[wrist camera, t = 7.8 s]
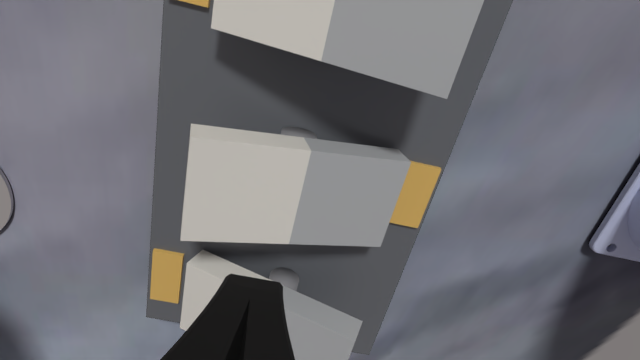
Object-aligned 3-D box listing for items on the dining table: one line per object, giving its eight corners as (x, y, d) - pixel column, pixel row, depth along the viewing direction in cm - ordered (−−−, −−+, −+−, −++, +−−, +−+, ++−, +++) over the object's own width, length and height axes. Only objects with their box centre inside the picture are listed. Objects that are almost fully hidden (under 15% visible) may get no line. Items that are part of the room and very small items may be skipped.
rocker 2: (384, 136, 17) (411, 162, 15) (359, 213, 19) (380, 246, 17) (191, 110, 15) (190, 137, 12) (183, 203, 16) (180, 241, 14)
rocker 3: (369, 301, 18) (355, 340, 16) (347, 361, 20) (331, 404, 18) (219, 236, 20) (186, 262, 18) (210, 296, 21) (179, 327, 19)
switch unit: (505, -52, 15) (540, -60, 13) (364, 320, 24) (369, 358, 22) (196, -140, 14) (170, -166, 12) (163, 284, 23) (144, 319, 20)
